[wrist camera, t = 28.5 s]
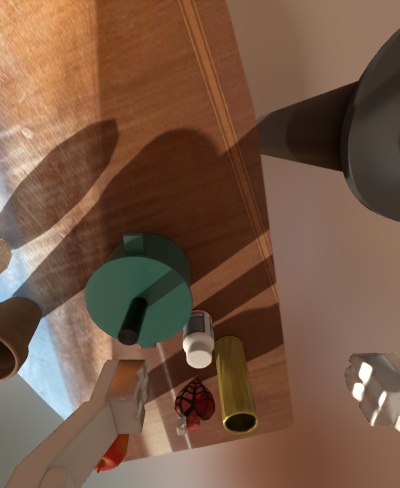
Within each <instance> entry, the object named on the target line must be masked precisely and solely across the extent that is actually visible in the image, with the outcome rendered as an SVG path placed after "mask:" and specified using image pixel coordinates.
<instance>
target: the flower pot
mask: <svg viewBox="0 0 400 488" xmlns="http://www.w3.org/2000/svg"><path fill="white" fill-rule="evenodd" d="M40 319H41V311H40V309H39V307H38V306H37V305H36V304H35V303H34V302H32V301H30V300H28V299H26V298H22V297H14V298H10V299H8V300H6V301H3V302H1V303H0V381H3V380H6V379H9V378H11V377H12V376H14V375H15V374H16V373H17V372H18V371H19V369H20V367H21V366H22V365H23V363H24V362H25V361H26V359H27V357H28V352H29V350H28V345H29V343H30V341H31V339H32V337H33V335H34V333H35V331H36V329H37V326H38V324H39V322H40Z"/></svg>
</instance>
